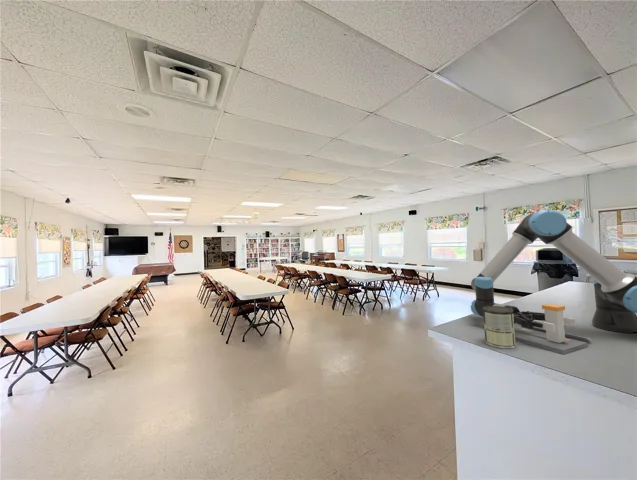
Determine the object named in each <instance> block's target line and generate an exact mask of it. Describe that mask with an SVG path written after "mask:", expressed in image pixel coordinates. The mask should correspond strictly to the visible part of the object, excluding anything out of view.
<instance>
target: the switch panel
mask: <svg viewBox="0 0 637 480" xmlns="http://www.w3.org/2000/svg"><path fill="white" fill-rule="evenodd" d="M514 330H515V342H519V343H522V344H526V345H528V346H533V347H536V348H538V349H539V348H540V349H544V350H546V351H550V352H553V353H556V354H557V353H558V354H561V355H567V354H569V353H572V352H577V351H579V350H583V349H585V347H586V348H588V347H589V343H587V342H582V341H578V340H574V339H570V338H565V342H561V343H557V342H553V341H549V340H547V337H546V333H544V332H540V331H536V330H532V329H527V328H523V327H521V326H520V325H519V326H518V325H516V324H514ZM582 348H583V349H582Z"/></svg>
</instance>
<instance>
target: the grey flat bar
mask: <svg viewBox="0 0 637 480" xmlns="http://www.w3.org/2000/svg"><path fill="white" fill-rule="evenodd" d="M520 327H523V328H527V329H529V326H528V327H524V326H522V325H520ZM532 330H536V331H540V332H544V333H546V330H544V329H540V328H535V327H534V326H533V329H532ZM565 338H570V339H574V340H578V341H582V342H587V343H588V344H590V343H591V342H592V339H591V338H589V337H587V336H586V337H585V336H581V335H577V334H576V335H575V334H572V333H566V332H565Z"/></svg>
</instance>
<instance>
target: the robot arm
mask: <svg viewBox="0 0 637 480" xmlns="http://www.w3.org/2000/svg"><path fill="white" fill-rule="evenodd" d="M538 239H539V240H540V241H541V242H543V243H544V244H545V245H553V247H555V248H556V249H557V250H558V251H560V252H561V253H562V254H563V255H565V257H567V258H568V260H571V261H572V262H573V263H574V264H575V265H576V266H577V267H579V268H580V269H581V270H583V271H584V272H585V273H586V274H587V275H588V276H590V277H591V278H593V287H594V289H593V290H594V297H595V299H594V301H595V312H594V314H593V317H592V319H591V325H592V326H593V327H594V328H598V329H602V330H606V331H611V332H618V333H628V334H634V333H633V332H637V276H636V275H634V274H633V273H628V272H624V271H623V270H622V269H620V268H619V267H618V266H616V265H615V264H614V263H612V262H611V261H610V260H609V259H608V258H606V257H605V256H603V255H602V254H601V252H599V251H598V250H596V249H595V248H593V247H592V246H591V245H590V244H588V243H587V242H586V241H585V240H583V239H582V238H580V236H578V235H577V234H575V233H574V232H573V226H572V225H571V224H569V223H568V222H567V219H566V217H565V215H564V214H563V213H561V212H560V211H557V210H554V209H542V210H538V211H536V212H533V213H530V214H528V215H526V216H525V217H524V218H523V219H522V220H521V222H520V223H519V224H518V225H517V227H516V228H515V229H514V231H513V232H512V236H511V237H510V239H508V241H506V243H505V244H504V245H503V246H502V247H501V249H500V250H499V251H498V252H497V253H496V254H495V256H494V257H493V258H492V259H491V260H490V261H489V262H488V263H487V264H486V265H485V267H484V268H483V269H482V271H480V273H478V275H477V276H475V277H474V278H473V279H471V281H470V286H471V288H472V289H473V291H475V299H474V300H472V302H471V305H470V310H471V312H472V313H473V314H474V315H475V316H479V317H481V318H484V315H483V307H486V306H501V307H507V308H511V309H513V310H514V312H513V317H514V325H519V326H521V325H522V326H524V327H528V326H529V329H533V326H534V327H535V328H540V329H544V330H548V331H553V332H555V325H554V324H552V323H547V322H545V312H537V311H535V312H534V311H528V310H527V311H524V310H523V311H520V309H519V308H518V307H517V306H513V305H509V304H508V305H507V304H504V303H495V296H494V283H495V281H496V280H497V279H498V278H499V277H500V276H501V275H502V274H503V273H504V271H505V270H506V269H507V268H508V267H509V266H510V265H511V264H512V262H513V261H514V260H515V259H516V258H517V257H518V256H519V255H520V254H521V253H522V252H523V251H524V249H526V247H527V246H528V245H533V244H534V242H535V241H536V240H538ZM563 318H564V326H565V325H566V326H571V327H576V326H577V325H576V319H575V318H571V317H565V316H563Z"/></svg>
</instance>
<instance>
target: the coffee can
mask: <svg viewBox="0 0 637 480" xmlns="http://www.w3.org/2000/svg"><path fill="white" fill-rule="evenodd" d="M513 312H514V310H513V309H511V308H507V307H501V306H486V307H483V315H484V317H483V327H484V328H483V329H484V342H485V344H487V345H488V346H491V347H494V348H499V349H513V348H514V349H515V348H516V347H517V346H516V345H517V344H516V341H515V330H514V325H515V324H514V317H513Z"/></svg>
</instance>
